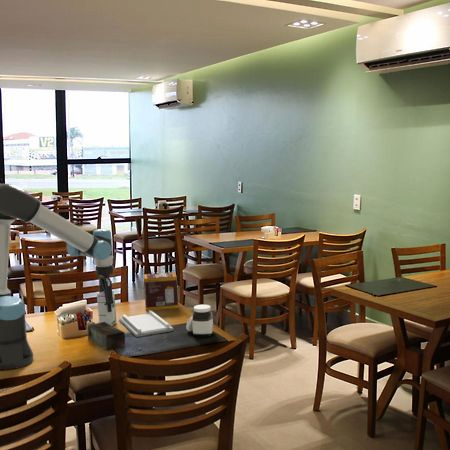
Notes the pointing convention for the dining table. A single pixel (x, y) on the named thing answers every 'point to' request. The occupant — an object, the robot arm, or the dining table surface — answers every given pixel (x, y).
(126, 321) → the panel
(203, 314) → the spread jar
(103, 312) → the syrup box
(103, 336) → the dark grey rectangular block
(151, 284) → the supplement box
